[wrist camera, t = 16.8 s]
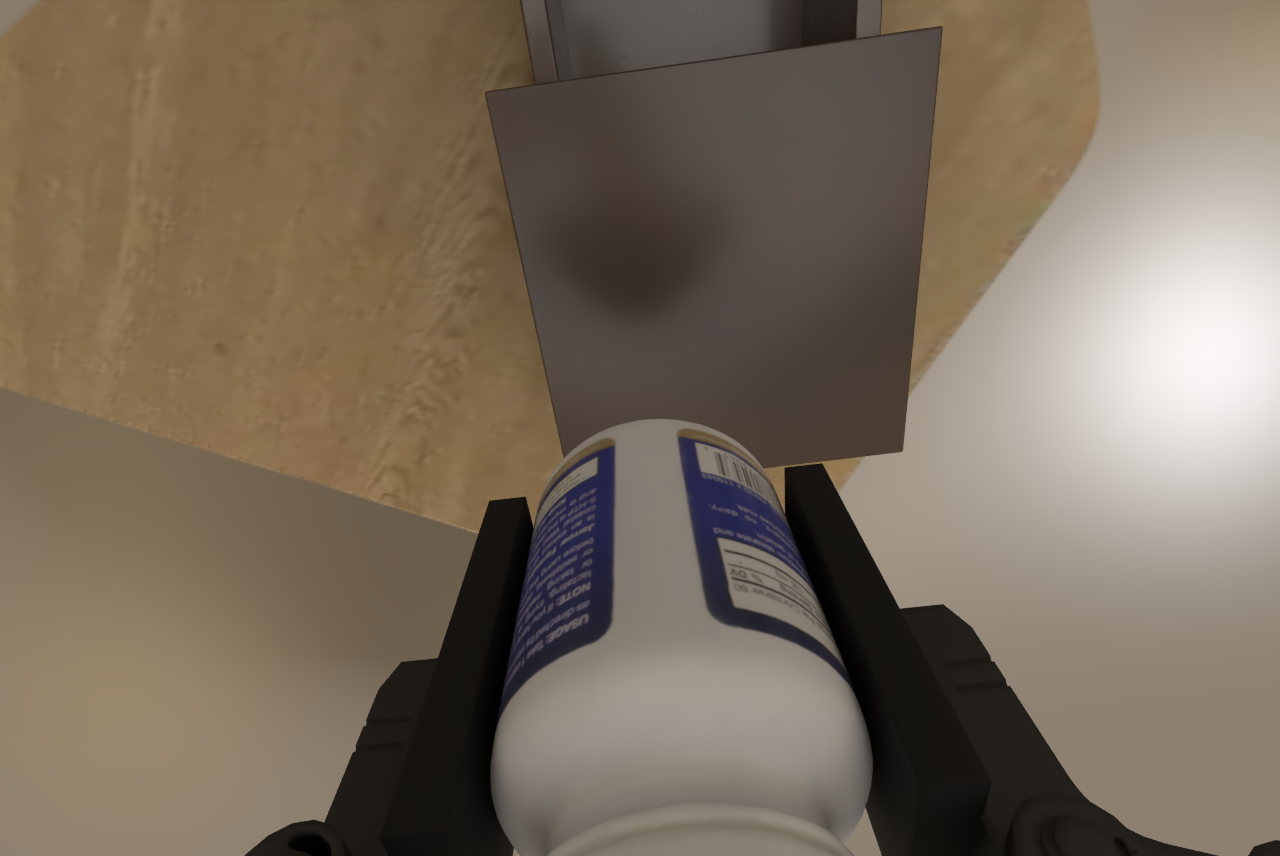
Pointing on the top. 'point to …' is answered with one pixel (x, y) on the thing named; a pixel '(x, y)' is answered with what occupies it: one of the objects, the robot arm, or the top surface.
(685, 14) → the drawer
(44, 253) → the top surface
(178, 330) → the top surface
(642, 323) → the brown rectangular box
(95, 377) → the top surface
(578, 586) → the pill bottle
